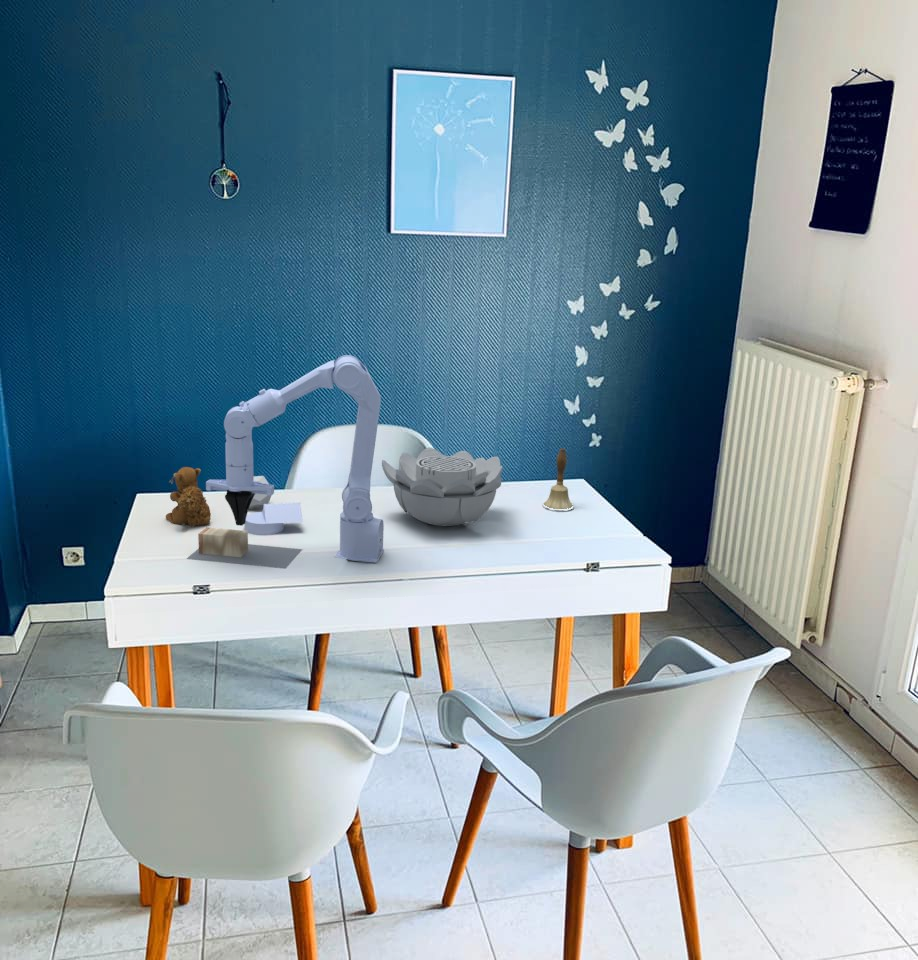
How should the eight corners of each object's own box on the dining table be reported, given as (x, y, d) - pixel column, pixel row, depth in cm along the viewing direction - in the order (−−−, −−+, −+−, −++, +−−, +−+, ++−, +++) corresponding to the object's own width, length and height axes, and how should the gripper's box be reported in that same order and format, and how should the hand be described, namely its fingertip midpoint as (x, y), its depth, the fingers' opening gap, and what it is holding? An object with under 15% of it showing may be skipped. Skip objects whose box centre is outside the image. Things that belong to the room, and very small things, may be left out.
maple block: (247, 531, 209) (206, 527, 210) (240, 537, 205) (198, 533, 206) (248, 550, 210) (207, 546, 211) (240, 557, 206) (198, 553, 207)
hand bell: (536, 504, 255) (540, 446, 251) (562, 501, 259) (566, 444, 254) (553, 513, 248) (558, 454, 244) (580, 510, 252) (584, 451, 247)
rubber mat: (302, 551, 212) (302, 549, 212) (285, 570, 201) (285, 568, 201) (208, 542, 215) (208, 540, 215) (186, 561, 204) (186, 558, 204)
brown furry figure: (203, 511, 237) (201, 460, 233) (222, 528, 225) (221, 474, 222) (162, 516, 231) (160, 464, 228) (181, 534, 220) (179, 479, 216)
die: (230, 509, 241) (235, 486, 234) (245, 485, 247) (250, 462, 240) (260, 522, 242) (265, 499, 234) (274, 498, 247) (279, 475, 240)
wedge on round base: (297, 523, 231) (243, 526, 228) (297, 496, 229) (242, 499, 226) (302, 535, 223) (246, 538, 219) (302, 508, 221) (245, 510, 217)
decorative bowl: (457, 551, 217) (460, 488, 213) (361, 521, 234) (362, 463, 230) (529, 521, 241) (533, 463, 237) (437, 496, 258) (439, 442, 254)
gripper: (199, 465, 200) (201, 526, 203) (266, 471, 198) (266, 532, 202) (212, 457, 206) (214, 516, 210) (277, 462, 204) (277, 522, 208)
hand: (240, 524), depth 206 cm, fingers closed
